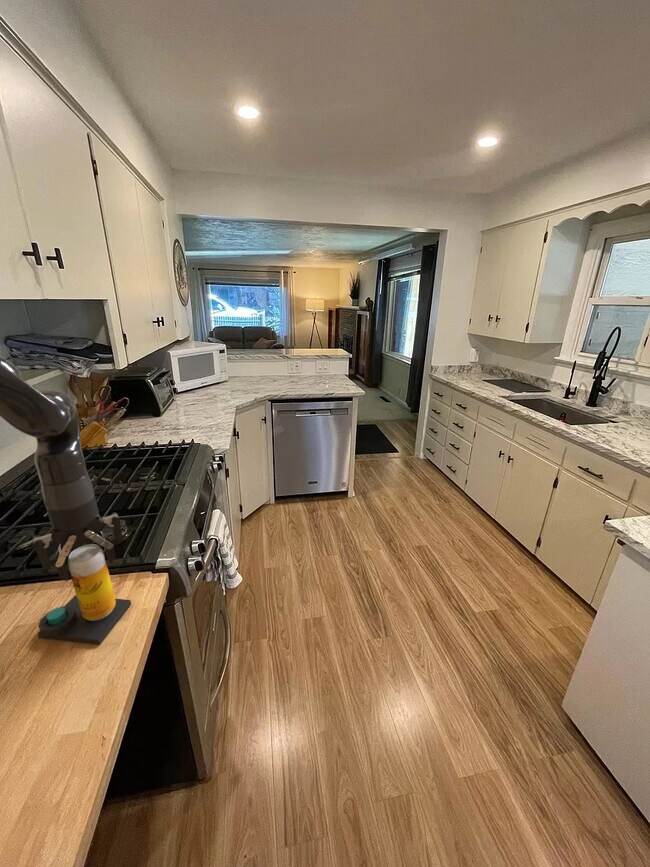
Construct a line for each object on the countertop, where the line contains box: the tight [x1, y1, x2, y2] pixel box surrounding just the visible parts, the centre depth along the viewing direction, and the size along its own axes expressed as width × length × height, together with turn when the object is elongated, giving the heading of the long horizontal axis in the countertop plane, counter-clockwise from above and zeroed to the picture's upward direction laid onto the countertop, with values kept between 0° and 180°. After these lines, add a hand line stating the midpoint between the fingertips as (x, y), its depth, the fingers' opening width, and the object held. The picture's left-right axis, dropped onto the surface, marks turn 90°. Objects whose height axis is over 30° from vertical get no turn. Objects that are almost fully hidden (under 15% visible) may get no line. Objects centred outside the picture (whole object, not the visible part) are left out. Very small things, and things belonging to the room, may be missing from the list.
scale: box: [37, 594, 132, 646], centre depth 74 cm, size 13×10×3 cm
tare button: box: [47, 606, 67, 625], centre depth 72 cm, size 3×3×2 cm
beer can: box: [66, 543, 116, 621], centre depth 73 cm, size 6×6×15 cm
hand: (89, 569), depth 72 cm, fingers open, 7 cm apart
